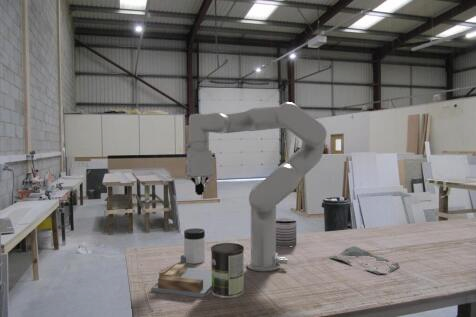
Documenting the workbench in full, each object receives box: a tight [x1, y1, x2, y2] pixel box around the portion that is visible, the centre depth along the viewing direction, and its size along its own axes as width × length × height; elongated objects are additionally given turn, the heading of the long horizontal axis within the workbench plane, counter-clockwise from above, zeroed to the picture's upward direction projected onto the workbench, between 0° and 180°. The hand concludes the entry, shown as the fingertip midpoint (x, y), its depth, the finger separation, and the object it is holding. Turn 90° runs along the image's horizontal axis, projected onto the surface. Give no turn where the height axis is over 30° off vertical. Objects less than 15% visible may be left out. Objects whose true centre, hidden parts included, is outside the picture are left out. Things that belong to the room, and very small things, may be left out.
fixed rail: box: [157, 276, 203, 293], centre depth 114 cm, size 14×3×3 cm, turn 74°
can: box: [276, 217, 297, 248], centre depth 167 cm, size 11×11×12 cm
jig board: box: [150, 266, 212, 298], centre depth 122 cm, size 18×20×4 cm
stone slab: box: [328, 245, 400, 275], centre depth 141 cm, size 24×16×2 cm, turn 33°
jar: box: [183, 227, 206, 265], centre depth 145 cm, size 9×8×12 cm
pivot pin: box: [180, 254, 187, 264], centre depth 130 cm, size 2×2×5 cm
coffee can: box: [210, 242, 245, 299], centre depth 114 cm, size 10×10×14 cm
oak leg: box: [163, 262, 187, 277], centre depth 123 cm, size 12×3×3 cm, turn 166°
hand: (199, 194), depth 139 cm, fingers closed
